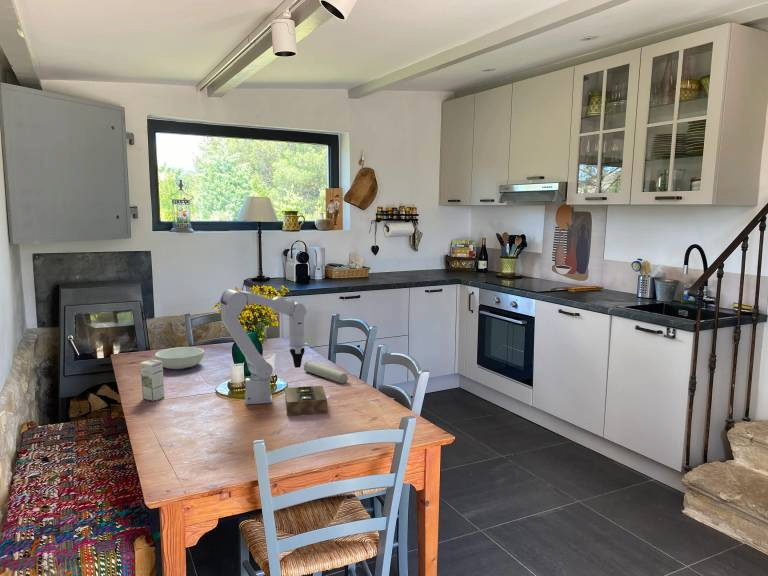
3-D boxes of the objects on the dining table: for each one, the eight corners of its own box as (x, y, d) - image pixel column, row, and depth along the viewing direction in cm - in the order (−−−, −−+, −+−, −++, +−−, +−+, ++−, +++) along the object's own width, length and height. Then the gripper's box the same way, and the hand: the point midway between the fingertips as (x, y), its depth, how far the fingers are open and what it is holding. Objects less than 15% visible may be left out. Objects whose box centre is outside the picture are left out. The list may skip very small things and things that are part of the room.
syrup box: (165, 397, 221) (163, 360, 219) (153, 402, 216) (151, 364, 214) (154, 395, 224) (152, 358, 222) (141, 399, 219) (139, 362, 216)
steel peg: (301, 412, 206) (300, 399, 205) (300, 409, 209) (300, 395, 209) (312, 412, 206) (312, 398, 206) (311, 408, 210) (311, 395, 209)
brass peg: (299, 405, 213) (299, 392, 213) (299, 401, 217) (298, 388, 216) (310, 404, 214) (310, 391, 213) (309, 400, 218) (309, 388, 217)
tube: (351, 373, 240) (314, 361, 258) (342, 372, 236) (305, 359, 254) (348, 386, 240) (311, 372, 257) (339, 384, 236) (302, 371, 254)
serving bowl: (214, 364, 266) (213, 350, 265) (176, 376, 248) (175, 360, 247) (184, 358, 277) (183, 344, 276) (145, 368, 259) (144, 353, 258)
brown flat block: (287, 415, 203) (286, 401, 202) (285, 400, 218) (285, 387, 217) (327, 413, 205) (326, 398, 205) (322, 398, 221) (322, 384, 220)
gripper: (308, 336, 217) (309, 371, 219) (305, 328, 231) (306, 361, 233) (289, 337, 216) (290, 373, 218) (287, 329, 230) (288, 362, 232)
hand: (297, 367), depth 225 cm, fingers closed
